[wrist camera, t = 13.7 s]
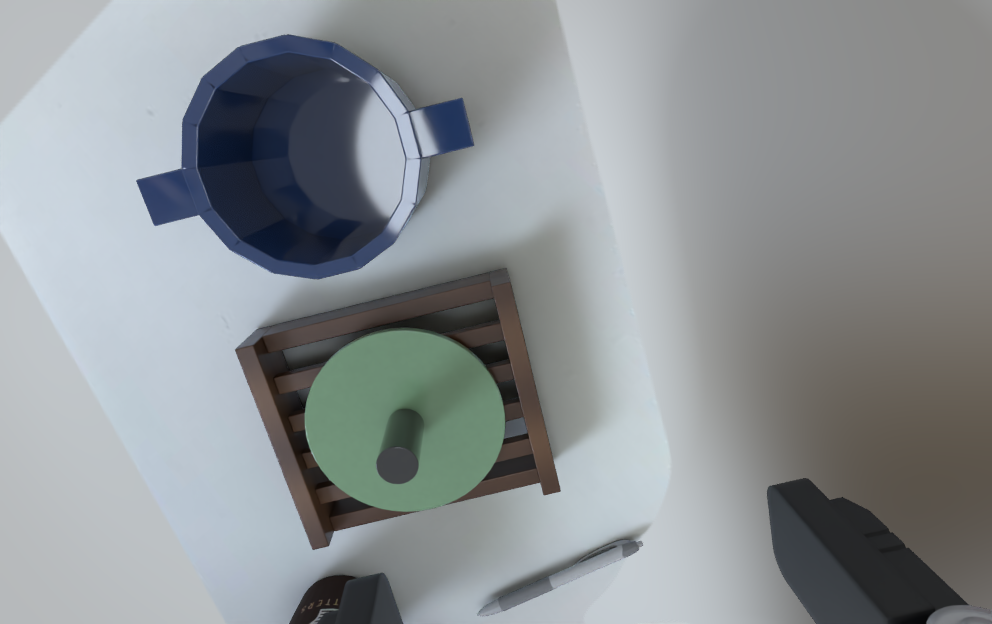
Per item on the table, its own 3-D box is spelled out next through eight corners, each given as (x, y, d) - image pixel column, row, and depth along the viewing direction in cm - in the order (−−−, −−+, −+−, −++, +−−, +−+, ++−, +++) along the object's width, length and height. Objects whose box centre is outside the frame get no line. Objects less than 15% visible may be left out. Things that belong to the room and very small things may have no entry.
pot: (171, 95, 37) (88, 84, 29) (444, 25, 37) (437, -6, 29) (239, 276, 40) (181, 313, 32) (490, 214, 40) (496, 235, 32)
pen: (641, 540, 48) (646, 552, 46) (479, 610, 49) (480, 624, 47) (636, 530, 47) (641, 542, 46) (474, 601, 48) (474, 615, 47)
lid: (281, 351, 39) (247, 391, 33) (478, 303, 38) (480, 334, 33) (343, 520, 42) (323, 583, 36) (523, 477, 42) (532, 534, 36)
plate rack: (255, 329, 41) (234, 349, 38) (506, 267, 41) (510, 281, 37) (325, 515, 46) (312, 550, 42) (553, 461, 45) (561, 491, 41)
